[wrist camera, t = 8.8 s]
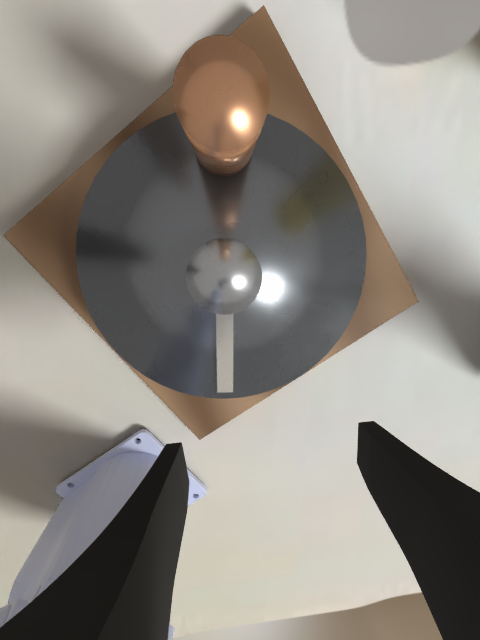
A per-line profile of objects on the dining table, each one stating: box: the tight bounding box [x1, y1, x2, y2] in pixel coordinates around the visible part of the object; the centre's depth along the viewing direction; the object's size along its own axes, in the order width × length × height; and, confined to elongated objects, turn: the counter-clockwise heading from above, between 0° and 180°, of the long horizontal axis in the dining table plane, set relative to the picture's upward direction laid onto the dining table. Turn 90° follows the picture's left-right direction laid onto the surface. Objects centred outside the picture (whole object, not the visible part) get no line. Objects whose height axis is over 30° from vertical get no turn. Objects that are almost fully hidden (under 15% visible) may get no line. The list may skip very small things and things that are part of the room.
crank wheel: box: [76, 35, 367, 399], centre depth 14 cm, size 16×16×7 cm
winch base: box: [4, 5, 418, 440], centre depth 18 cm, size 18×18×1 cm
